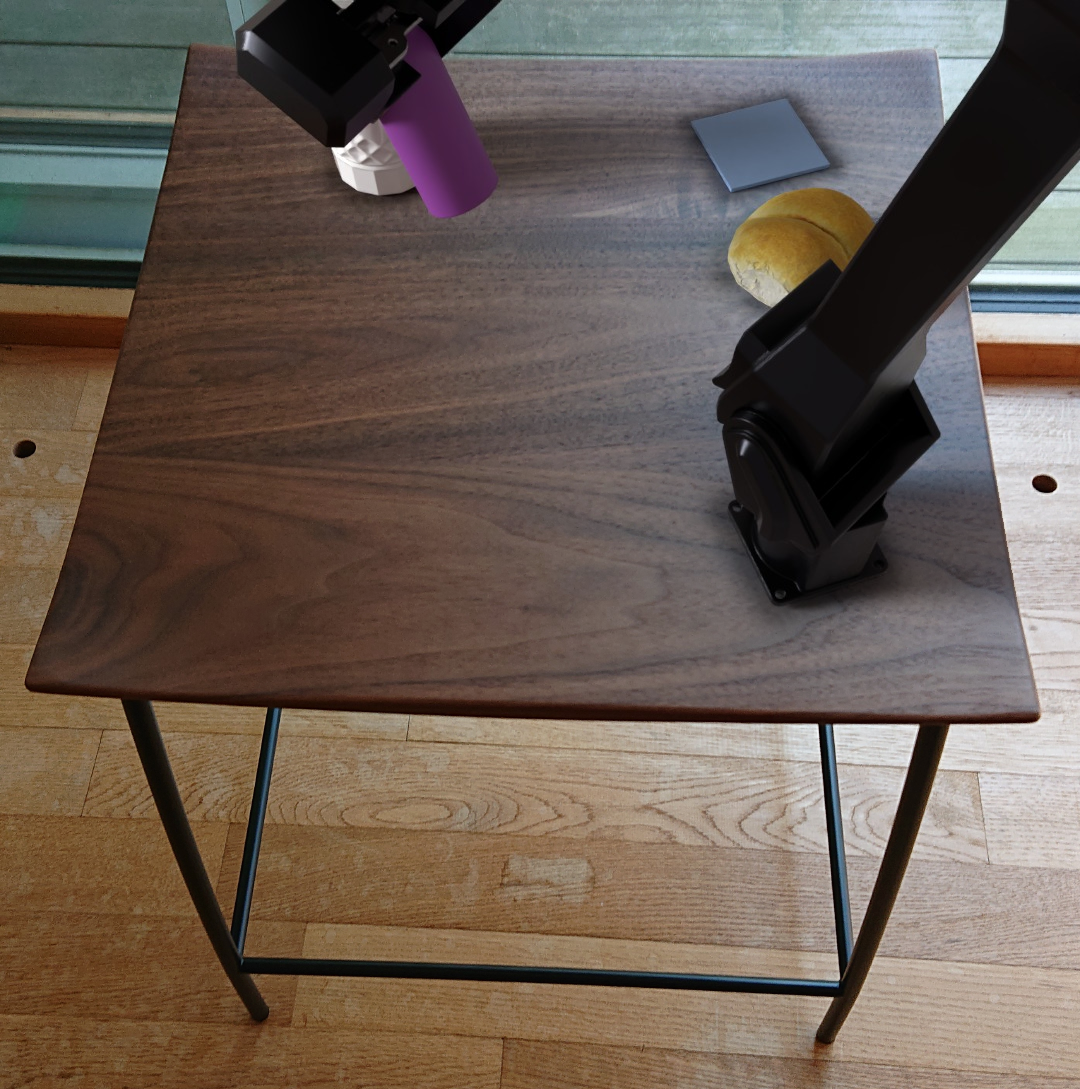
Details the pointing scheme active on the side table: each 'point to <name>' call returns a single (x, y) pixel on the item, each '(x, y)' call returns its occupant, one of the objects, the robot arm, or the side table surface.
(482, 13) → the robot arm
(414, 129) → the eggplant
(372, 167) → the white cup
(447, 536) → the side table surface
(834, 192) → the bread roll
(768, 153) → the blue-grey square tile
